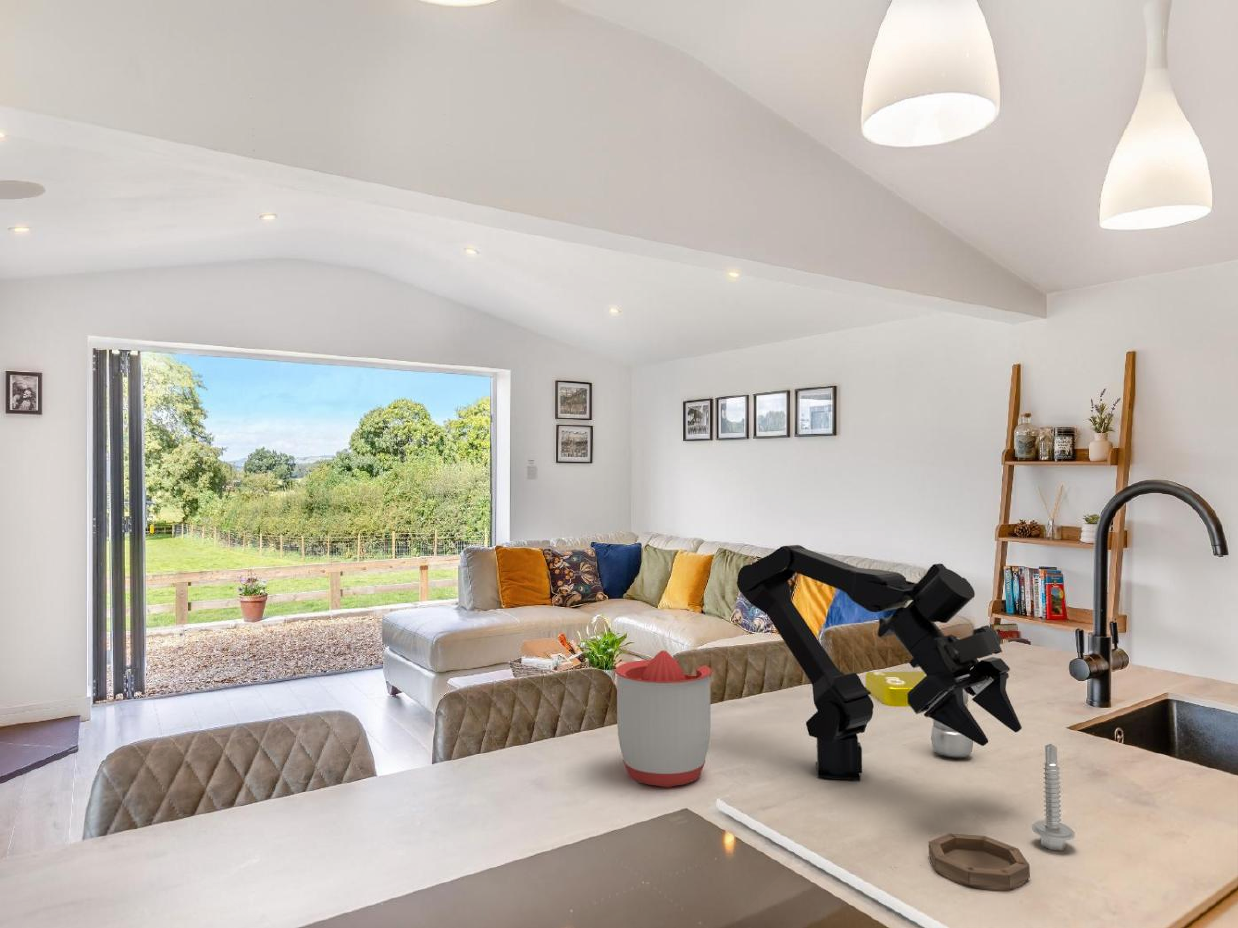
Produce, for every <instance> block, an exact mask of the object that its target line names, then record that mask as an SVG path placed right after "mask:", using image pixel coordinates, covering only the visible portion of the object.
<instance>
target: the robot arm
mask: <svg viewBox="0 0 1238 928" xmlns="http://www.w3.org/2000/svg"><path fill="white" fill-rule="evenodd" d="M796 574H799V575H801V576H804V577H806V578H809V579H811V580H815V581H816V582H819V583H822V584H825V585H827V586H828V587H832V588H835V589H836V590H839V591H841V592H842V593H844V594H846V595H847V596H848V598H850V600H851V601H852V602H854V603H855V604H857V605H858V606H860V607H861V608H863V609H865V610H866V611H868V612H871V613H881V612H887V611H891V610H894V612H893V613H891V614H890V616H888V617H882V618H879V619H878V624H879V625H878V630H877V636H878V637H879V638H883V637H884V638H885V637H888V636H889V637H890V636H895V637H896V639H897V640H898V642H899V643H900V644H901V645H902V647H903V648H904V649H905V651H906V652H907V653H908V654H909V656H910V657H911V658H912V659H911V660H909V662H908V664H909V665H910V666H911V667H912V669H915V668H920V669H921V670H922V671H923V672H924V673H925V674H926V675H927V676H926V677H925V678H923V679H922V680H921V681H920V682H919V683H918V684H917V685H916V686H915V687H914V688H913V689H912V690H910V691H909V692H908V693H907V698H908V704H909V705H910V706H909V707H910V708H911V710H913V712H914V713H915V715H918V714H922V713H923V716H924V718H930V719H932V720H933V719H934V720H936V721H938V722H940V723H942V724H944V725H946V726H948V727H950V728H951V729H953V730H955V731H957V732H959V733H960V734H962V735H964V736H966V737H967V738H969V739H971V740H972V741H973V743H976V744H978V745H980V746H982V747H984V746H986V745H987V744H989V738H988V737H987V735H986V734H985V732H984V731H983V729H982V728H981V726H980V724H979V723H978V722H977V720H976V719H975V718H974V716H973V714H972V713H971V712H970V710H969V708H968V709H967V707H966V706H965V704H964V700H963V689H964V690H965V691H966V692H967V693H968V695H970V696H972V698H971V700H972V701H973V702H974V703H976V704H977V705H978V706H979V707H980V708H982V709H984V710H985V711H986V712H987V713H988V714H990V715H991V716H993V717H994V718H995V719H996V720H998V721H999V722H1000V723H1002V724H1003V725H1004V726H1005V727H1007V728H1008V729H1010V730H1011V731H1013V732H1014V733H1018V732H1020V730H1022V728H1023V727H1022V725H1021V722H1020V720H1019V717H1018V716H1017V714H1016V712H1015V709H1014V706H1013V705H1012V703H1011V701H1010V700H1011V699H1010V697H1009V695H1008V692H1007V687H1006V686H1007V680H1008V679H1009V677H1010V675H1009V672H1010V670H1011V668H1010V667H1009V666H1008V665H1007V664H1006V662H1005V661H1004V660H1003V659H1002V658H1001V657H993V656H992V655H993V654H995V655H998V654H1000V653H1003V649H1002V647H1001V641H1002V640H1003V637H1002V635H1000V634H998V633H997V631H996V629H992V628H991V627H990V626H989V624H987V625H983V626H981V627H978V628H973V632H972V633H973V634H972V635H968V636H966V637H964V638H960V640H958V639H957V638H958V637H957V636H955V635H953V634H947V635H945V633H944V632H943V631H942V630H941V629H940V628H939V626H938V625H937V624H936V623H938V622H939V623H941V624H947V623H948V622H950V621H951V620H952V619H953V618H954V617H955V616H956V615H958V613H959V612H960V611H961V610H962V609H963V608H964V607H965V606H967V604H968V603H969V602H971V600H973V599H974V598H975V595H976V593H975V590H974V588H973V585H971V583H970V582H969V581H968V580H967V579H966V578H965V577H962V576H961V575H959V574H958V573H957V572H955V571H954V570H951V569H950V568H949V569H948V568H947V567H946V566H945V565H944V564H943V563H934V564H932V565H931V566H930V567H929V568H928V570H927V571H926V573H925V575H924V576H923V577H922V578H921V579H920V580H919V581H917V582H914V581H909V580H907V578H906V577H905V576H904V574H901V573H900V572H897V571H892V570H891V571H890V570H886V569H876V568H875V569H874V568H863V567H858V566H855V565H851V564H850V563H846V562H843V561H841V560H838V559H835V558H832V557H830V556H826V555H823V554H821V553H818V552H815V551H813V550H810V549H807V548H806V547H804V546H802V545H799V544H792V545H782V546H780V547H779V548H777V549H776V550H775V551H773V552H772V553H770V554H768V555H765V556H763V557H762V558H760V559H757V560H756V561H754V562H752V563H751V564H750V563H749V564H746V565H743V566H742V567H741V568H740V570H739V571H738V574H737V579H736V580H737V581H736V585H737V588H738V591H739V592H740V593H741V595H742V596H743V598H745V599H746V600H747V602H748V603H749V604H750V605H752V606H753V607H755V608H756V609H758V610H760V612H763V613H764V614H765V615H766V616H767V617H768V619H769V620H770V621H771V623H772V625H773V626H774V627H775V630H776V631H777V632H778V634H779V635H780V637H781V638H782V641H784V643H785V644H786V647H787V648H788V650H789V652H790V653H791V654H792V656H793V657H794V659H795V660H796V662H797V663H798V665H799V666H800V668H801V670H802V672H803V673H804V674H805V676H806V678H807V679H808V680H809V682H810V684H811V685H812V698H813V704H814V705H815V708H816V712H815V713H814V714H813V715H812V716H811V717H810V718H808V720H807V721H806V722H805V725H806V728H807V729H806V730H807V734H808V736H810V737H812V738H816V761H815V768H816V774H817V778H819V779H833V780H845V781H846V780H847V781H848V780H849V781H860V780H861V775H860V774H862V773H863V748H862V745H861V742H859V737H858V735H859V734H864V733H865V732H866V728H867V726H868V723H870V722H871V720H872V717H873V715H874V702H873V701H872V698H871V696H870V695H871V692H870V691H868V690H867V689H866V686H865V685H864V684H863V682H862V679H861V678H860V677H859V675H858V674H857V673H856V672H851V673H847V674H845V673H844V672H842V671H841V670H840V669H839V668H838V667H836V664H835V663H834V661H833V660H832V659H831V657H830V655H829V654H828V653H827V651H826V650H825V648H824V647H823V645H822V644H821V642H820V641H819V639H818V638H817V636H816V635H815V634H814V631H813V630H812V629H811V628H810V626H809V625H808V623H807V622H806V620H805V619H804V617H803V615H802V614H801V613H800V611H799V610H798V609H797V607H796V606H795V604H794V602H793V601H792V597H791V585H790V583H789V581H790V580H791V579H793V578H794V577H795V576H797V575H796ZM909 601H911V602H910V603H909V604H908V605H907V603H908V602H909ZM906 605H907V606H906ZM987 656H988V658H985V657H987ZM989 656H992V657H989ZM982 658H984V659H982ZM978 659H981V660H980V661H979V660H978Z"/></svg>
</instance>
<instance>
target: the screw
mask: <svg viewBox="0 0 1238 928" xmlns="http://www.w3.org/2000/svg"><path fill="white" fill-rule="evenodd" d="M1044 747H1045V748H1044V749H1045V751H1044V752H1045V753H1044V754H1045V755H1044V756H1045V758H1044V759H1045V762H1044V763H1043V765H1044V767H1043V770H1044V772H1043V774H1044V777H1043V779H1044V781H1043V783H1044V786H1043V788H1044V791H1043V793H1044V794H1045V795H1044V796H1043V797H1044V798H1045V799H1044V800H1043V802H1044V803H1045V804H1044V807H1045V809H1044V812H1045V813H1044V816H1045V818H1044V819H1043V820H1036V821H1035V822H1033V823H1032V824H1031V830H1032V832H1033V833H1034V834H1037V835H1038V836H1039V837H1040V845H1041V846H1043V847H1045V848H1046V849H1048V850H1051V851H1061V852H1062V851H1063V850H1064V849H1065V848H1066V841H1070V840H1073V839H1074V838H1075V837H1076V835H1075V833H1076V832H1075V831H1074V830H1073V829H1072V828H1071V827H1070V826H1068V825H1066V824H1064V823H1061V821H1062V819H1061V811H1062V810H1061V804H1060V803H1061V799H1060V798H1061V795H1060V793H1061V790H1060V789H1061V786H1060V784H1061V781H1060V779H1061V777H1060V774H1061V772H1060V771H1059V770H1060V767H1059V766H1058V765H1059V763H1058V751H1057V749H1058V747H1057V746H1055V745H1054V744H1052V743H1049V744H1047V745H1045V746H1044Z"/></svg>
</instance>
